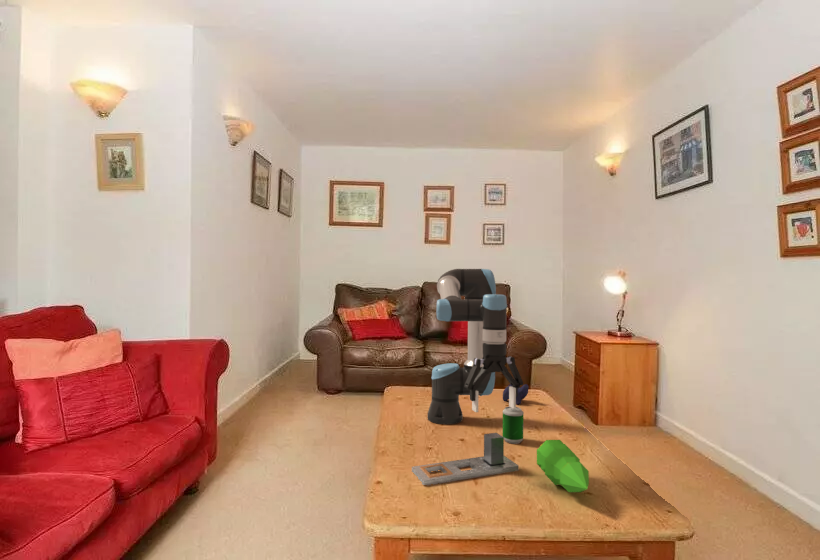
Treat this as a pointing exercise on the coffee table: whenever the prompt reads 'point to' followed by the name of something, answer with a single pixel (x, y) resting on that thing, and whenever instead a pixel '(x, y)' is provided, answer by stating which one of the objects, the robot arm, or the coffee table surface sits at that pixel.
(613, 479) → the coffee table surface
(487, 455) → the rectangular block
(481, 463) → the grey board with holes
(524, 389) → the tetrapod
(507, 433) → the soda can
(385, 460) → the coffee table surface
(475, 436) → the coffee table surface
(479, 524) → the coffee table surface
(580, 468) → the decorative tree
